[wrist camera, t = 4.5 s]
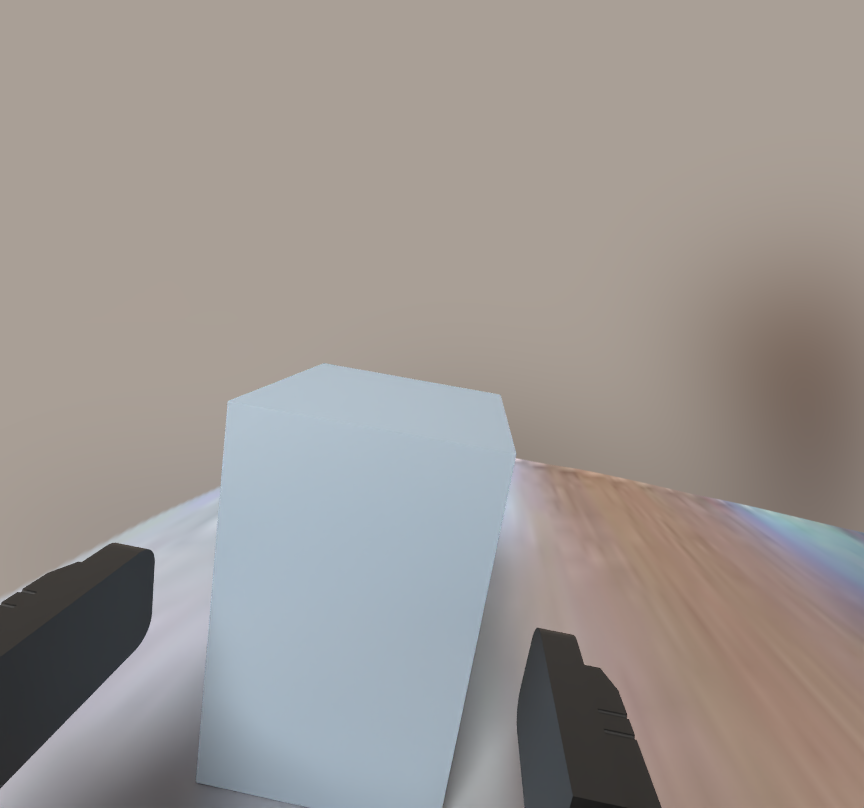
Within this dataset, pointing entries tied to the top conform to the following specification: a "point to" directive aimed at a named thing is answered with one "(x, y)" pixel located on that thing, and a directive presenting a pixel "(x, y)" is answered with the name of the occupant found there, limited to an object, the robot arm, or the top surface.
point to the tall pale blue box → (349, 586)
